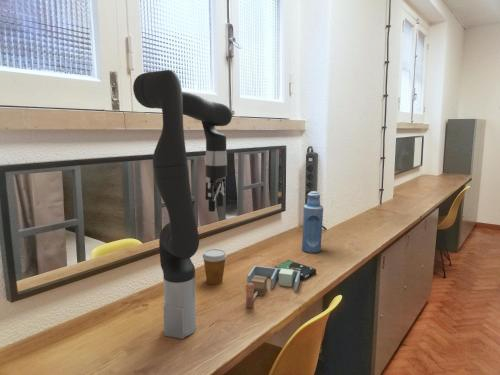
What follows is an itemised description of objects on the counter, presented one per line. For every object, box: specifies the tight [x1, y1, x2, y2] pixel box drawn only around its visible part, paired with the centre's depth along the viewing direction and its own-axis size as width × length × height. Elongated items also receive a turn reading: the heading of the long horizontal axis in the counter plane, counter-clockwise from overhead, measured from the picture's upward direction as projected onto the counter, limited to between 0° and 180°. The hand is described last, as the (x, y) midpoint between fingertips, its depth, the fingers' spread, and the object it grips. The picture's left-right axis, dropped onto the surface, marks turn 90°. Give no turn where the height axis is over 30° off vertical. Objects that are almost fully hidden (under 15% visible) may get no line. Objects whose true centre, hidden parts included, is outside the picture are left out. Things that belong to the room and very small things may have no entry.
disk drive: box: [274, 259, 317, 282], centre depth 152 cm, size 10×3×15 cm
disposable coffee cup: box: [202, 248, 228, 285], centre depth 141 cm, size 10×10×12 cm
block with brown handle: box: [245, 275, 268, 309], centre depth 129 cm, size 16×5×8 cm, turn 164°
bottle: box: [301, 190, 324, 254], centre depth 177 cm, size 10×10×30 cm
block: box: [278, 268, 294, 287], centre depth 141 cm, size 5×5×5 cm
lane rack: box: [246, 265, 301, 293], centre depth 141 cm, size 11×19×4 cm, turn 75°
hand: (216, 208), depth 127 cm, fingers open, 8 cm apart
